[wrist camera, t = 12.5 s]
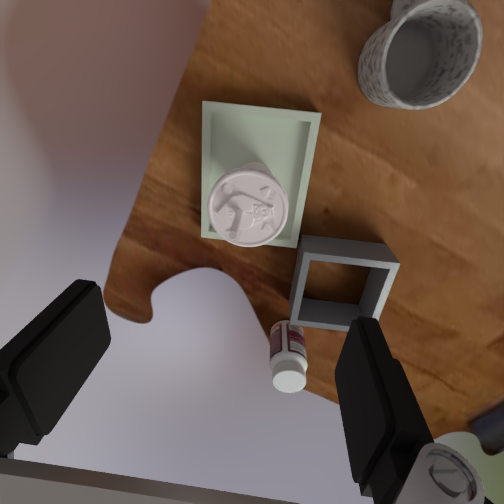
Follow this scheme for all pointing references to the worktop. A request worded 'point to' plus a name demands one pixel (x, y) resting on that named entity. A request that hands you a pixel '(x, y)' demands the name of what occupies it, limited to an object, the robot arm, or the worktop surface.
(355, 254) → the grey square tube frame
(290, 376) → the pill bottle
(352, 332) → the robot arm
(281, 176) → the tray
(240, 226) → the smoothie
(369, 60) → the mug
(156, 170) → the worktop surface
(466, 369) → the worktop surface
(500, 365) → the worktop surface
